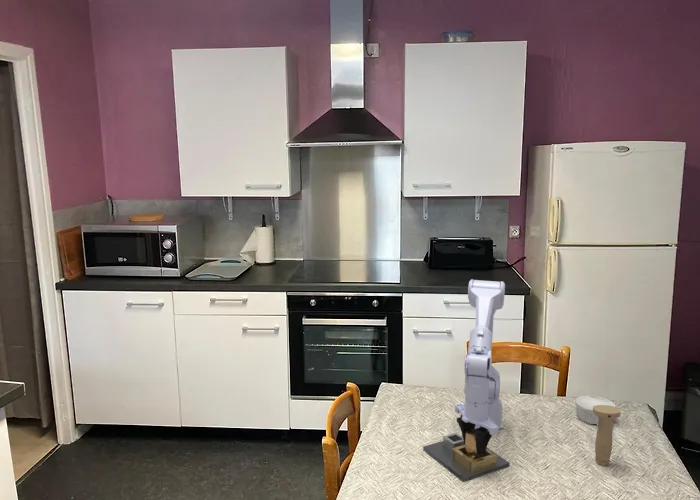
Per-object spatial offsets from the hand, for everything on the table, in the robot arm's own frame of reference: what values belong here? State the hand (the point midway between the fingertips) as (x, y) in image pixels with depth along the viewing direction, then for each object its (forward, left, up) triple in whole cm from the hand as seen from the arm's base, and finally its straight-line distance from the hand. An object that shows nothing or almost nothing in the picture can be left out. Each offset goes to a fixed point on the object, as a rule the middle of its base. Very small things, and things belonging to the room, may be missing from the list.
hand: (474, 448), depth 146 cm
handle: (-30, +15, -5) cm, 34 cm away
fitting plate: (0, -3, -4) cm, 6 cm away
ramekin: (-49, -3, -5) cm, 49 cm away
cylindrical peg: (0, 0, -3) cm, 3 cm away
